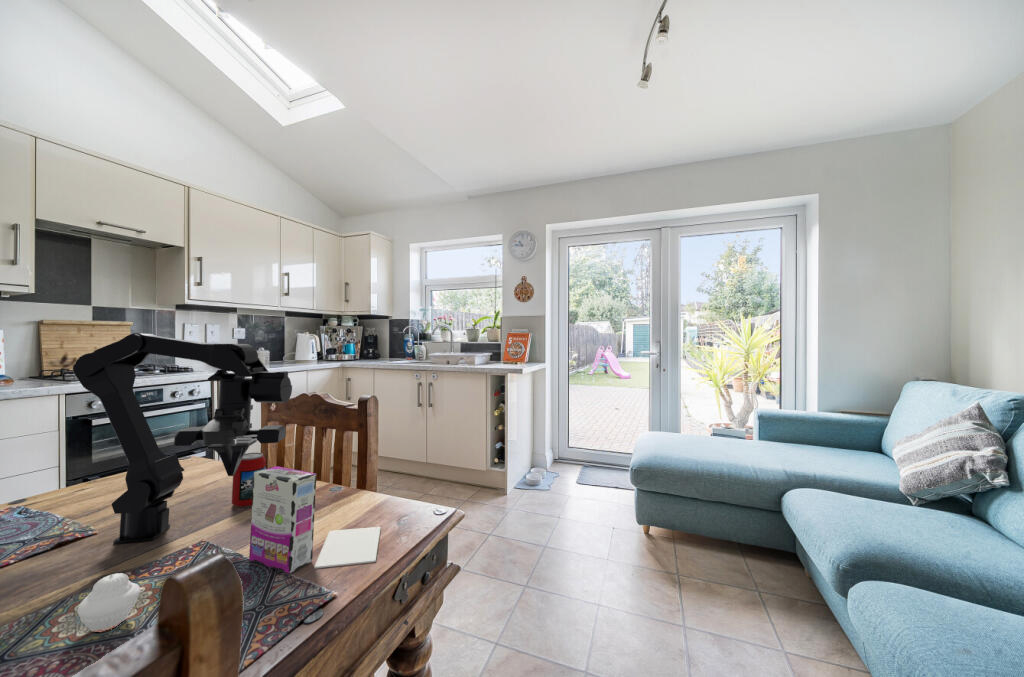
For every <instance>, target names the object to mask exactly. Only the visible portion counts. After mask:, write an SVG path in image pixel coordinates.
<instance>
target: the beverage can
mask: <svg viewBox="0 0 1024 677" xmlns="http://www.w3.org/2000/svg"><path fill="white" fill-rule="evenodd" d="M266 465H267V460H266V458H265V456H264V454H263V453H262V452H248V453H247V452H245V454H244V456H243V458H242V460H241V462H240V464H239V466H238V468H237V470H236V472H235V474H234V475H233V476H232V488H231V489H232V491H231V504H232V505H233V506H235V507H236V508H237V507H238V508H250V507H252V500H253V482H254V472H257V471H261V470H264V469H267V466H266ZM249 506H250V507H249Z"/></svg>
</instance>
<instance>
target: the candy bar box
mask: <svg viewBox="0 0 1024 677" xmlns="http://www.w3.org/2000/svg"><path fill="white" fill-rule="evenodd" d="M316 490H317V473H314V472H309V471H304V470H300V469H299V470H298V469H292V468H288V467H281V466H277V465H276V466H272V467H269V468H266V469H264V470H261V471H257V472H254V482H253V500H252V506H251V521H250V535H249V536H250V539H249V540H250V541H249V554H248V555H249V556H248V558H249V559H248V560H249V562H254V563H257V564H259V565H263V566H265V567H268V568H271V569H274V570H277V571H280V572H284V573H286V574H288V575H289V574H293V573H295V572H297V571H298V570H301V568H304V567H305V566H307V565H309V564H310V563H312V562H313V552H314V551H313V548H314V528H315V527H314V526H315V511H316V510H315V509H316Z"/></svg>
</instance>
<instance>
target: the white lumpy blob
mask: <svg viewBox="0 0 1024 677" xmlns="http://www.w3.org/2000/svg"><path fill="white" fill-rule="evenodd" d="M140 595H141V588H140V586H139V585H138V584H137V583H134V582H132V581H130V580H129V576H128V575H127V574H126V573H123V572H120V573H119V572H118V573H117V572H116V573H112V574H109V575H107V576H103V578H100V579H98V580H97V582H95V583H94V584H93V587H92V591H90V592H89V594H88V595H87V596H86V597H85V598H84V599H82V601H81V602H80V604H79V605H78V607H77V610H76V612H77V615H78V617H80V618H79V619H80V621H81V622H82V623H83V625H85V627H86V628H87V629H88V630H90V629H92V630H95V631H96V630H99V629H106V628H110V627H111V626H115V625H117V624H119V623H121V622H122V621H124V620H126V619H127V617H128V616H129V615H130V612H131V611H132V609H133V608H134V606H135V605H136V603H137V600H138V598H139V596H140ZM124 622H125V621H124Z"/></svg>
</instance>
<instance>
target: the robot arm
mask: <svg viewBox="0 0 1024 677" xmlns="http://www.w3.org/2000/svg"><path fill="white" fill-rule="evenodd" d="M150 355H157V356H165V357H171V358H179V359H184V360H191V361H192V360H193V361H197V362H198V361H199V362H202V363H203V364H206V365H208V366H210V367H213V368H215V369H217V370H216V371H215V373H213V374H212V375H211V376H209V377H207V380H208V381H209V382H219V386H218V387H219V389H218V404H217V405H218V407H217V408H215V409H214V416H213V417H212V420H209V422H207V424H206V425H205V426H190V427H187V428H184V429H182V430H179V431H178V432H177V433H175V436H174V440H173V442H174V443H173V445H174V446H175V447H178V446H179V447H185V446H187V447H188V446H189V447H190V446H192V445H194V444H195V443H197V441H203V445H204V446H206V447H207V449H208V450H209V449H210V450H213V451H214V452H216V453H217V454H218V457H219V458H220V460H221V462H222V464H223V466H224V469H225V472H226V474H227V476H228V477H233V475H234V474H235V472H236V470H237V468H238V466H239V464H240V462H241V460H242V458H243V456H244V454H246V453H247V451H248V449H249V448H250V446H252V445H254V444H255V443H257V442H259V443H260V444H276V443H279V442H281V441H282V440H283V439H285V438H286V436H287V429H286V427H285V426H284V425H283V424H281V425H278V424H277V425H275V424H274V425H265V426H263V427H261V428H259V429H252V428H253V423H252V422H251V415H252V410H254V404H252V400H254V402H255V403H271V404H272V403H275V404H276V403H279V404H281V403H283V404H285V403H288V402H289V400H290V398H291V397H292V393H293V384H292V381H291V378H290V377H289V372H288V371H286V370H285V371H284V370H283V371H281V370H280V371H269V370H268V369H267V368H266V366H265V365H264V363H263V362H262V361H261V359H260V358H259V354H258V351H257V350H256V348H255V346H253V345H251V344H248V343H205V342H199V341H194V340H186V339H179V338H174V337H167V336H160V335H155V334H153V333H143V332H142V333H139V332H133V333H129V334H128V335H126V336H124V337H123V338H122V339H119V340H118V341H117V340H116V341H115V342H113V343H110V344H107V345H105V346H102V347H100V348H97V349H95V350H94V351H92V352H88V353H85V354H83V355H81V356H79V357H78V358H77V359H76V361H75V363H74V364H73V365H72V371H73V374H74V376H75V378H76V379H77V380H78V381H79V383H80V384H81V386H82V387H83V388H84V389H85V390H86V391H88V392H89V393H91V394H93V395H94V396H95V397H97V398H98V399H99V400H100V402H101V404H102V406H103V409H104V411H105V414H106V416H107V417H108V420H109V422H110V424H111V427H112V428H113V431H114V433H115V435H116V437H117V440H118V442H119V444H120V446H121V449H122V452H123V453H124V455H125V458H126V460H127V462H128V465H127V470H126V474H125V479H124V480H125V485H126V488H127V490H126V491H125V492H123V493H122V494H121V495H120V496H118V497H117V498H116V499H115V500H114V501H113V502H112V503H111V507H112V510H113V513H114V514H116V515H117V514H120V520H119V535H118V537H117V538H115V539H114V540H112V543H113V544H124V543H125V544H127V543H137V542H148V541H153V540H154V539H156V538H157V537H159V536H160V535H161V534H162V533H164V532H166V531H167V529H169V528H170V527H171V524H170V523H169V522H170V521H169V520H170V508H168V500H167V499H169V498H172V497H173V495H174V493H175V491H176V489H178V487H180V486H181V484H182V482H183V480H184V474H183V472H185V469H184V467H183V466H182V465H181V463H180V460H179V457H178V455H177V454H176V453H174V454H171V455H169V456H168V455H167V454H165V453H164V452H162V451H161V450H160V447H159V446H158V444H157V440H156V439H155V437H154V434H153V432H152V429H151V428H150V426H149V423H148V421H147V418H146V416H145V414H144V413H143V409H142V408H141V405H140V403H139V401H138V399H137V396H136V394H135V392H134V384H135V381H136V377H137V374H136V370H135V368H136V367H138V366H139V365H141V364H142V363H144V362H145V361H146V359H147V358H148V357H149V356H150ZM230 372H231V373H230Z"/></svg>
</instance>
